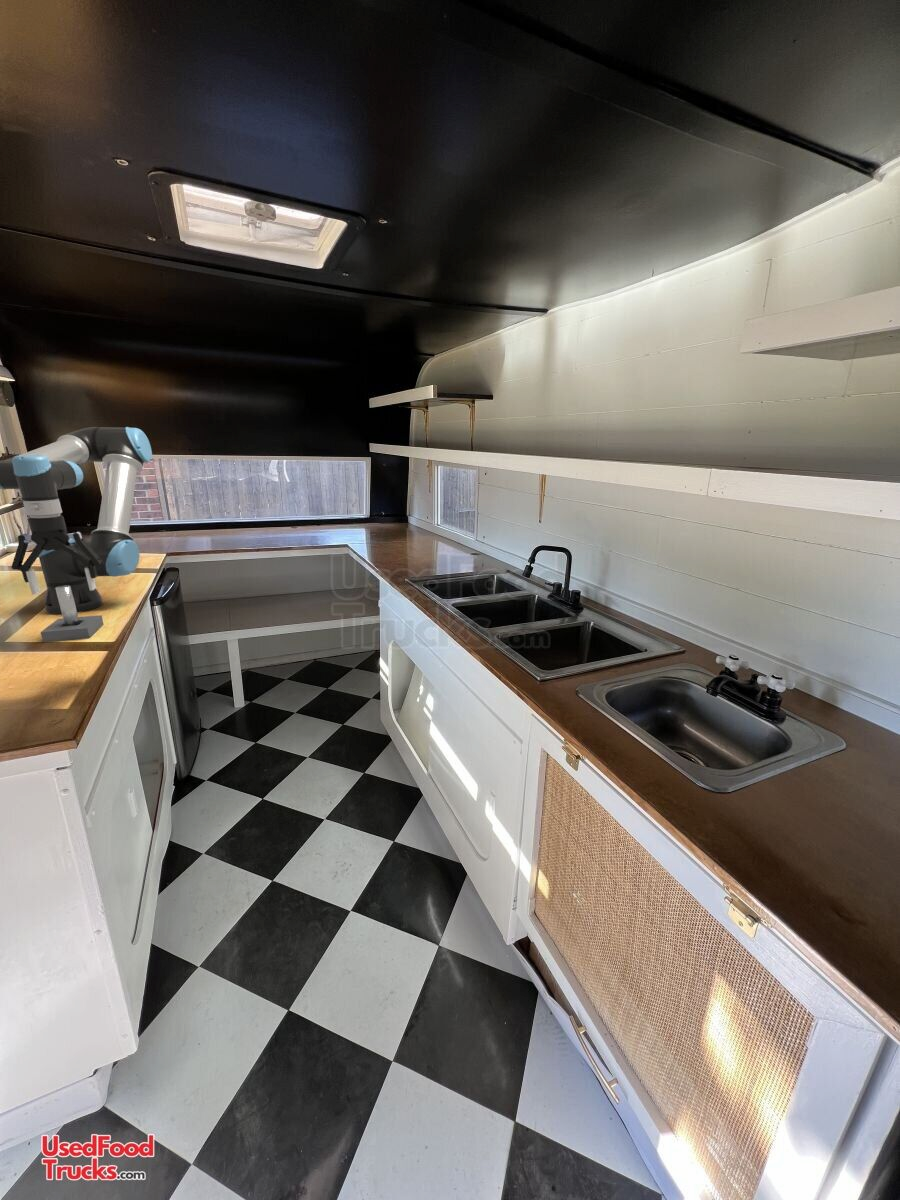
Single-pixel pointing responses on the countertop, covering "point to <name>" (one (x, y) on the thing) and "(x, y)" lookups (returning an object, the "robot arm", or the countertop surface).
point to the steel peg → (67, 605)
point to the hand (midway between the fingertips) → (65, 591)
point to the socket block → (72, 629)
